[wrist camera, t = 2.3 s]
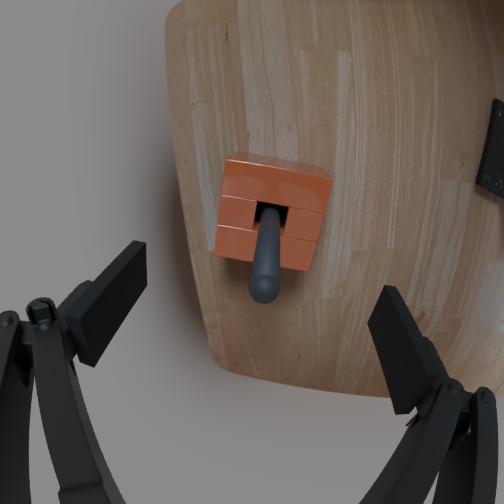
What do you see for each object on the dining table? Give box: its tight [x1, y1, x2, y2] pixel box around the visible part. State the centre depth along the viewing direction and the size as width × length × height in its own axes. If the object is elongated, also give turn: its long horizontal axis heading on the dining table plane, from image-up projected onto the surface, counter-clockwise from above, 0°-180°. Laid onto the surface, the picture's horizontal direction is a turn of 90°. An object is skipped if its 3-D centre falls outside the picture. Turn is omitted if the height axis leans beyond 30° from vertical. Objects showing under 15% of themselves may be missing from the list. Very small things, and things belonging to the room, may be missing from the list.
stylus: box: [249, 202, 280, 304], centre depth 21 cm, size 2×2×16 cm
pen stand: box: [214, 152, 333, 272], centre depth 26 cm, size 9×9×5 cm
